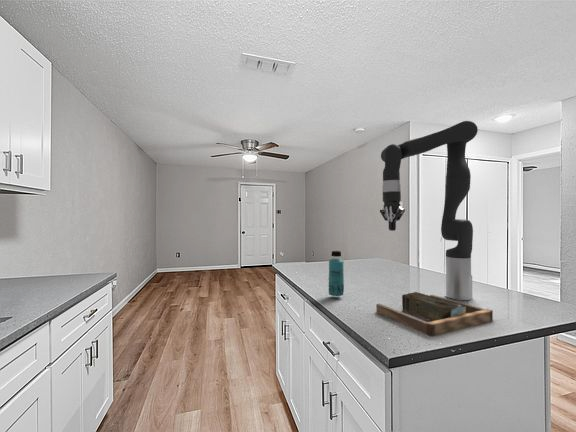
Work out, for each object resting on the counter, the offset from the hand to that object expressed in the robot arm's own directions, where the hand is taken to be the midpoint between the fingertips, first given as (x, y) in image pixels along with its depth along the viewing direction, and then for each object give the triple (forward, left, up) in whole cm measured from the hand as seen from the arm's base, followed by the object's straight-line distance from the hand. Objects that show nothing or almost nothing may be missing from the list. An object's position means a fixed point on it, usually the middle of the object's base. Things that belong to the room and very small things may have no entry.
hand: (392, 230), depth 124 cm
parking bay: (+8, +26, -29) cm, 39 cm away
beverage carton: (+8, +26, -29) cm, 40 cm away
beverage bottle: (+25, -7, -29) cm, 39 cm away
